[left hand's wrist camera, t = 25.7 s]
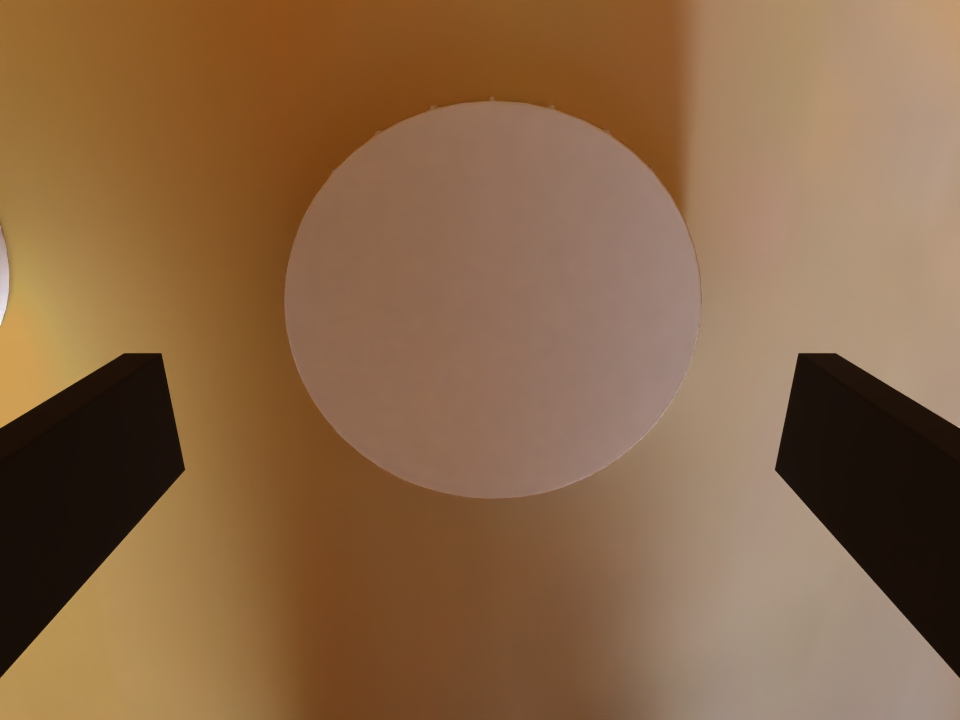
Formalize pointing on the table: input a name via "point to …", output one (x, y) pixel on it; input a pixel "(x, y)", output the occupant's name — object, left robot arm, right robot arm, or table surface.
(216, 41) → the table surface
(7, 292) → the jar
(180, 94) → the table surface
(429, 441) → the lid
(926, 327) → the table surface
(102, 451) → the left robot arm
